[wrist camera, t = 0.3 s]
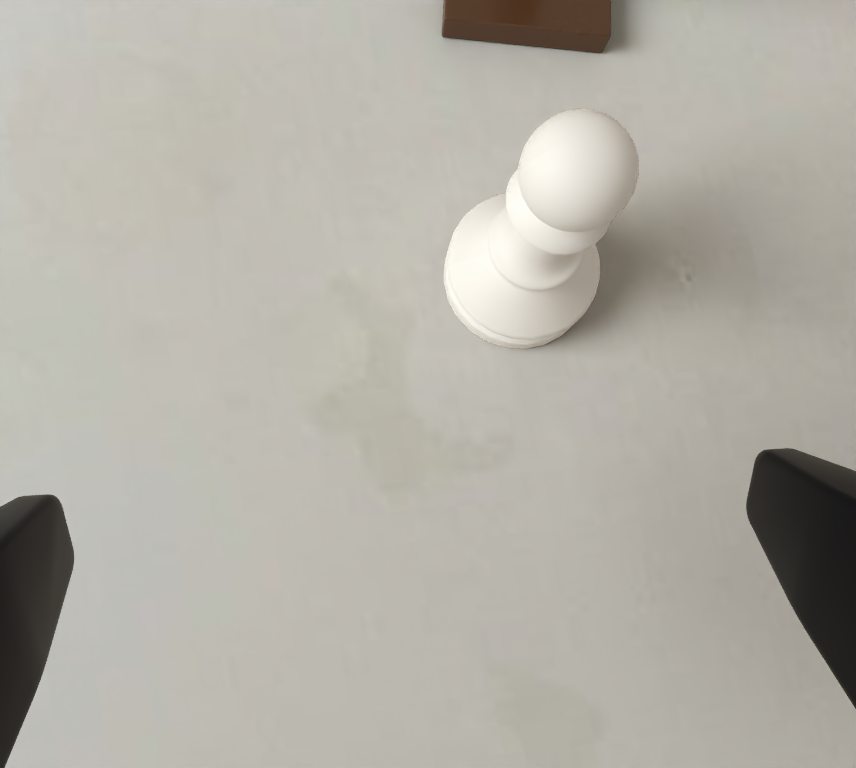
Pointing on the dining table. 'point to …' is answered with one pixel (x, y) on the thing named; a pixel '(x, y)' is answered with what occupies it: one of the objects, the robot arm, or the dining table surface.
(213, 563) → the dining table surface
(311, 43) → the dining table surface
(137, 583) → the dining table surface
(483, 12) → the post stand
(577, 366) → the dining table surface
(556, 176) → the chess pawn
